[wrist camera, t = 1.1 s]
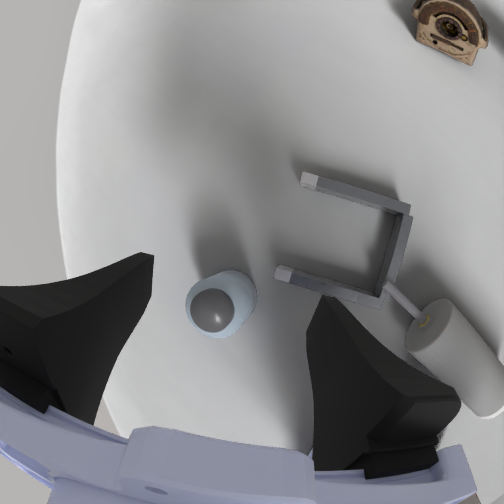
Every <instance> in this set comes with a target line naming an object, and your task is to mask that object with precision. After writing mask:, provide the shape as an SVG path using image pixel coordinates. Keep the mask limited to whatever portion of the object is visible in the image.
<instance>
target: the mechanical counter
mask: <svg viewBox="0 0 504 504" xmlns="http://www.w3.org/2000/svg"><path fill="white" fill-rule="evenodd" d="M424 1H425V2H424ZM421 5H422V6H421ZM420 6H421V7H420ZM412 16H413V17H415V18H416V19H417V21H418V23H417V33H416V40H417V41H418V42H421V43H423V44H425V45H428V46H430V47H432V48H435V49H437V50H439V51H441V52H443V53H446V54H448V55H450V56H452V57H454V58H455V59H457V60H459V61H461V62H463V63H465V64H467V65H469V66H472V65H473V62H474V60H475V57H476V54H477V52H478V49H479V48H484V49H485V48H486V47H487V46H488V25H487V23H486V22H485V21H484V20H483V18H482V17H481V16H480V15H479V13H478V11H477V9H476V7H475V5H474V4H473V3H472V2H471V1H470V0H417V1H416V2H415V4H414V6H413V7H412ZM482 27H483V30H482Z"/></svg>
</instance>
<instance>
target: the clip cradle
mask: <svg viewBox="0 0 504 504" xmlns="http://www.w3.org/2000/svg"><path fill="white" fill-rule="evenodd" d="M300 184H301V186H302V187H305V188H309V189H313V190H316V191H320V192H323V193H327V194H330V195H334V196H337V197H341V198H344V199H347V200H350V201H354V202H357V203H360V204H363V205H366V206H370V207H373V208H376V209H379V210H382V211H385V212H388V213H391V214H394V215H396V217H395V221H394V225H393V229H392V233H391V237H390V241H389V244H388V248H387V251H386V255H385V258H384V262H383V265H382V268H381V272H380V275H379V278H378V281H377V284H376V287H375V290H374V292H370V291H367V290H364V289H360V288H357V287H354V286H350V285H347V284H343V283H340V282H337V281H333V280H330V279H327V278H323V277H320V276H317V275H313V274H310V273H307V272H303V271H300V270H297V269H293V268H290V267H287V266H283V265H279V266H277V267H276V270H275V273H274V277H273V278H275V279H278V280H281V281H284V282H288V283H291V284H294V285H298V286H301V287H304V288H308V289H311V290H314V291H318V292H321V293H324V294H328V295H331V296H334V297H338V298H341V299H345V300H348V301H352V302H355V303H358V304H362V305H365V306H369V307H372V308H376V309H379V310H381V307H382V305H383V302H384V300H386V301H389V299H390V296H391V295H390V294H389V293H388V292H387V291H386V290H385V289H383V288H382V285H383V283H384V282H385V281H386V280H389V281H390V282H391V283H392V284H393V285H394V284H395V281H396V278H397V275H398V272H399V269H400V265H401V262H402V258H403V255H404V251H405V248H406V244H407V240H408V237H409V233H410V229H411V225H412V220H413V217H412V216H409V212H410V207H411V205H410V204H407V203H404V202H401V201H398V200H395V199H393V198H390V197H387V196H384V195H381V194H378V193H375V192H372V191H369V190H365V189H362V188H359V187H356V186H353V185H349V184H346V183H343V182H339V181H336V180H332V179H329V178H325V177H322V176H318V175H314V174H311V173H307V172H302V176H301V180H300Z"/></svg>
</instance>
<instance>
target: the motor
mask: <svg viewBox="0 0 504 504" xmlns="http://www.w3.org/2000/svg"><path fill="white" fill-rule="evenodd" d="M382 288H383V289H385V290H386V291H387V292H388V293H389V294H390V295H391V296H392V297H393V298H394V299H395V300H396V301H397V302H398V303H400V304H401V305H402V306H403V307H404V308H405V309H406V310H407V311H408V312H409V313H410V314H411V315H412V316H413V317H414V318H415V319H414V320H413V321H412V323H411V325H410V326H409V328H408V330H407V333H406V336H405V348H406V350H407V351H408V352H410V353H411V354H412V355H413V356H414V357H415V358H416V359H417V360H418V361H419V362H421V363H422V364H423V365H424V366H425V367H426V368H427V369H428V370H429V371H430V372H431V373H432V374H434V375H435V376H436V377H437V378H438V379H439V380H440V381H441V382H442V383H445V384H447V385H449V386H452V387H454V389H455V390H456V392H457V394H458V396H459V398H460V400H461V401H462V402H463V403H464V404H465V405H466V406H467V407H468V408H469V409H471V410H472V411H473V412H474V413H475V414H476V415H477V416H478V417H479V418H481V419H491V418H494V417H496V416H497V415H499V414H500V413H501V412H503V411H504V366H503V365H502V364H501V362H500V361H499V359H498V358H497V357H496V355H495V354H494V353H493V352H492V350H491V349H490V348H489V346H488V345H487V344H486V343H485V341H484V340H483V339H482V338H481V336H480V335H479V334H478V333H477V331H476V330H475V329H474V328H473V327H472V325H471V324H470V323H469V322H468V321H467V319H466V318H465V317H464V316H463V315H462V314H461V312H460V311H459V310H458V309H457V308H456V307H455V306H454V305H453V303H452V302H451V301H450V300H448V299H445V298H441V299H438V300H435V301H433V302H432V303H430V304H429V305H427V306H426V307H425V308H424V309H423V310H422V311H420V310H419V309H418V308H417V307H416V306H415V305H414V304H413V303H412V302H411V301H410V300H409V299H408V298H407V297H406V296H405V295H404V294H403V293H402V292H401V291H400V290H398V289H397V288H396V287H395V286H394V285H393V284H392V283H391V282H390V281H389V280H386V281H385V282H384V283H383V285H382Z"/></svg>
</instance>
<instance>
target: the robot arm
mask: <svg viewBox="0 0 504 504" xmlns="http://www.w3.org/2000/svg"><path fill="white" fill-rule="evenodd" d="M153 264H154V255H150V254H146V253H143V252H140V253H137V254H134V255H132V256H130V257H127V258H125V259H123V260H120V261H118V262H116V263H113V264H111V265H109V266H106V267H104V268H101V269H99V270H96V271H94V272H91V273H88V274H85V275H82V276H79V277H75V278H72V279H68V280H64V281H59V282H54V283H49V284H41V285H31V286H0V454H1V455H2V456H4V457H5V458H7V459H8V460H9V461H10V462H12V463H13V464H15V465H16V466H17V467H19V468H20V469H22V470H23V471H24V472H26V473H27V474H29V475H30V476H32V477H33V478H35V479H37V480H38V481H39V482H41V483H43V484H44V485H46V486H48V487H49V488H51V489H52V492H51V494H50V497H49V500H48V502H47V504H457V503H459V502H461V501H462V500H464V499H466V498H467V497H469V496H471V495H472V494H474V493H476V491H477V487H476V484H475V481H474V478H473V475H472V472H471V469H470V466H469V464H468V461H467V458H466V455H465V453H464V450H463V448H462V445H460V444H459V445H455V446H451V447H446V448H443V449H441V450H439V451H437V452H436V450H435V447H434V445H437V444H438V438H437V436H436V435H437V434H438V433H439V432H440V431H441V430H443V429H444V428H445V427H446V426H447V425H448V424H449V423H450V422H451V421H452V420H453V419H454V418H455V416H456V415H457V414H458V412H459V410H460V408H461V400H460V398H459V396H458V394H457V392H456V390H455V389H454V387H452V386H449V385H447V384H445V383H442V382H440V381H438V380H435V379H433V378H431V377H429V376H427V375H426V374H424V373H422V372H420V371H418V370H417V369H415V368H413V367H412V366H410V365H409V364H407V363H406V362H404V361H403V360H401V359H400V358H399V357H397V356H396V355H394V354H393V353H392V352H391V351H389V350H388V349H387V348H386V347H385V346H383V345H382V344H381V343H380V342H379V341H378V340H377V339H376V338H375V337H374V336H372V335H371V334H370V333H369V332H368V331H367V330H366V329H365V328H364V327H363V326H362V324H361V323H360V322H359V321H358V320H357V319H356V318H355V317H354V316H353V315H352V314H351V313H350V312H349V311H348V309H347V308H346V307H345V306H344V305H343V304H342V303H341V302H340V301H339V300H338V299H336V298H335V297H330V296H325V295H322V297H321V299H320V301H319V304H318V306H317V308H316V311H315V313H314V315H313V318H312V320H311V322H310V324H309V327H308V329H307V331H306V347H307V357H308V364H309V370H310V376H311V383H312V389H313V398H314V439H313V448H312V449H311V451H310V453H309V454H308V456H306V455H305V454H303V453H302V452H300V451H294V450H289V449H284V448H277V447H267V446H258V445H251V444H244V443H237V442H231V441H225V440H220V439H214V438H209V437H204V436H200V435H195V434H191V433H187V432H183V431H179V430H175V429H168V428H162V427H156V426H149V427H142V428H137V429H133V431H132V433H131V435H130V437H129V439H126V438H123V437H121V436H118V435H115V434H113V433H110V432H107V431H105V430H102V429H100V428H97V427H95V426H93V425H94V421H95V418H96V414H97V411H98V407H99V404H100V401H101V398H102V395H103V392H104V390H105V387H106V384H107V381H108V379H109V376H110V374H111V371H112V369H113V367H114V364H115V362H116V360H117V357H118V355H119V354H120V352H121V350H122V348H123V346H124V345H125V343H126V341H127V340H128V338H129V337H130V335H131V333H132V332H133V330H134V328H135V327H136V325H137V323H138V322H139V320H140V319H141V317H142V315H143V313H144V311H145V309H146V307H147V305H148V302H149V300H150V298H151V293H152V277H153Z"/></svg>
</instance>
